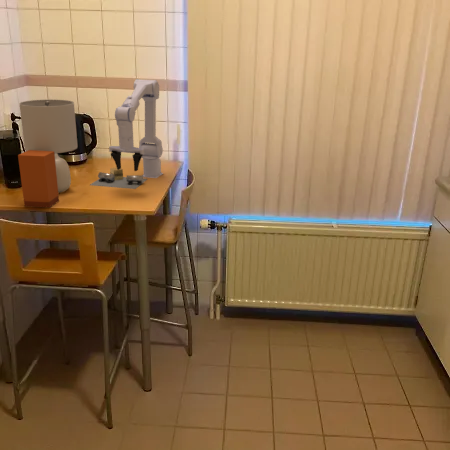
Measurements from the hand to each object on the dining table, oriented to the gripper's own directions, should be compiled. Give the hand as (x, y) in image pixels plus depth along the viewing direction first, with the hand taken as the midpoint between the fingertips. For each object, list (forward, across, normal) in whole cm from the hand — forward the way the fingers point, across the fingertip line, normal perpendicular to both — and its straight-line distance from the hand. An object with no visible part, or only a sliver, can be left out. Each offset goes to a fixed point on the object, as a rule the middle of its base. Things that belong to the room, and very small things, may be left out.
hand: (127, 169), depth 204 cm
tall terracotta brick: (+10, -26, -23) cm, 36 cm away
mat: (+10, -10, +12) cm, 18 cm away
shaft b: (+10, -2, +11) cm, 15 cm away
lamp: (+10, -30, -7) cm, 32 cm away
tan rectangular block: (+9, -13, +16) cm, 23 cm away
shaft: (+10, -15, +11) cm, 21 cm away
